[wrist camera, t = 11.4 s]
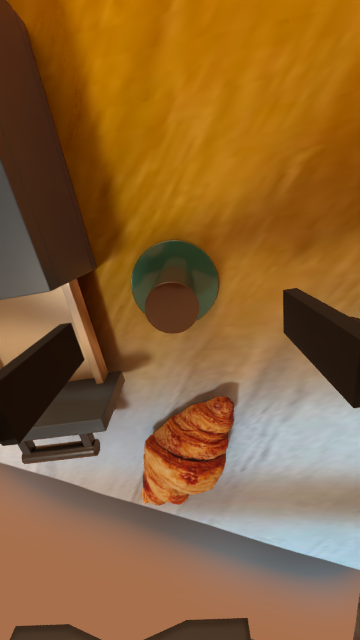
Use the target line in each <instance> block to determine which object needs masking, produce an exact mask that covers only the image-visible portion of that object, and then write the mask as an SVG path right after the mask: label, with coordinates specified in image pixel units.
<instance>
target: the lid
mask: <svg viewBox="0 0 360 640" xmlns="http://www.w3.org/2000/svg"><path fill="white" fill-rule="evenodd" d="M218 285H219V284H218V274H217V271H216V268H215V266H214V264H213V262H212V260H211V259H210V257H209V256H208V255H207V254H206V253H205V252H204V251H203V250H202V249H201V248H199V247H198V246H196V245H194V244H192V243H190V242H186V241H182V240H167V241H163V242H160V243H157V244H155V245H153V246H152V247H150V248H149V249H147V250H146V251H145V252H144V253H143V254H142V255H141V256H140V258H139V259H138V261H137V262H136V264H135V267H134V269H133V273H132V279H131V286H132V293H133V296H134V299H135V301H136V303H137V305H138V306H139V308H140V309H141V310H142V311H143V313H145V314H146V316H147V319H148V320H149V322H150V323H151V324H152V325H153V326H154V327H155V328H156V329H158V330H160V331H162V332H165V333H180V332H183V331H185V330H187V329H188V328H190V327H191V326H192V325H193V324H194V322H195V321H197V320H198V319H200V318H201V317H203V316H204V315H205V314H206V313H207V312H208V311H209V310H210V308H211V307H212V305H213V303H214V301H215V299H216V296H217V292H218Z"/></svg>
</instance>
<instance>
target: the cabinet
mask: <svg viewBox="0 0 360 640" xmlns="http://www.w3.org/2000/svg"><path fill="white" fill-rule="evenodd" d="M95 269H97V267H96V263H95V260H94V257H93V253H92V250H91V247H90V243H89V240H88V237H87V233H86V230H85V226H84V223H83V220H82V216H81V213H80V210H79V206H78V203H77V199H76V196H75V193H74V189H73V186H72V183H71V179H70V176H69V173H68V169H67V166H66V162H65V159H64V156H63V152H62V149H61V146H60V142H59V139H58V135H57V132H56V129H55V125H54V122H53V119H52V115H51V112H50V109H49V105H48V102H47V98H46V95H45V92H44V88H43V85H42V82H41V78H40V75H39V71H38V68H37V65H36V61H35V58H34V55H33V51H32V48H31V45H30V41H29V38H28V34H27V31H26V28H25V24H24V22H23V21H22V20H21V18H20V17H19V16H18V15H17V13H16V12H15V11H14V10H13V8H12V7H11V5H10V4H9V3H8V1H7V0H0V300H3V299H9V298H15V297H21V296H27V295H33V294H39V293H45V292H50V291H52V290H55V289H57V288H58V287H61V286H63V285H65V284H67V283H69V282H71V281H73V280H75V279H77V278H79V277H81V276H83V275H85V274H87V273H89V272H91V271H93V270H95Z"/></svg>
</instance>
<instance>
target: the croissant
mask: <svg viewBox="0 0 360 640" xmlns="http://www.w3.org/2000/svg"><path fill="white" fill-rule="evenodd" d="M233 409H234V403H233V402H232V401H231V400H230V399H229V398H227V397H221V396H220V397H215V398H213V399H212V400H209V401H207V402H206V403H199V404H198V403H197V404H193V405H191V406H189V407H188V408H186V409H185V410H184V411H182V412H181V413H180V414H177V415H175V416H173V417H171V418H170V419H169V420H168V421H167V422H166V423H165V424H164V425H163V426H162V427H161V428H159V429H158V430H157V431H155V432H154V433H153V435H151V436H150V437H149V438H148V439H147V440H146V442H145V448H144V451H145V454H144V469H145V471H144V475H143V489H142V497H143V501H144V503H148V502H151V503H153V504H155V505H162V504H164V503H165V502H166V501H167V502H169V503H173V504H182V503H183V502H184V501H185V500H187V499H188V496H189V494H199V493H202V492H205V491H207V490H211V489H213V486H214V485H215V484H216V482H217V480H218V479H219V477H220V476H221V475H222V472H223V469H224V466H225V462H226V449H227V447H228V431H229V430H230V428H231V427H232V425H233V421H234V418H233V412H234V410H233Z"/></svg>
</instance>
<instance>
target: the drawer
mask: <svg viewBox="0 0 360 640" xmlns="http://www.w3.org/2000/svg"><path fill="white" fill-rule="evenodd" d="M65 323H72V326H73V329H74V332H75V334H76V337H77V340H78V343H79V345H80V348H81V351H82V354H83V356H84V359H85V360H84V361H83V363H82V364H81V365H80V367H79V368H78V369H77V371H76V372H75V373H74V374H73V376H72V377H71V378H70V380H69V381H68V382H67V383H66V385H65V386H64V387H63V389H62V390H61V391H60V392H59V394H58V395H57V396H56V398H55V399H54V400H53V401H52V403H51V404H50V405H49V407H48V408H47V409H46V411H45V412H44V413H43V414H42V416H41V417H40V418H39V420H38V421H37V422H36V423H35V425H34V426H33V427H32V429H31V430H30V431H29V432H28V434H27V435H26V436H25V438H24V439H23V440H22V441H21V443H20V444H18V446H19V448H20V449H21V451H22V453H23V454H22V462H23V463H24V464H29V463H38V462H46V461H55V460H64V459H72V458H81V457H90V456H97V455H98V454H99V451H100V441H99V440H98V439H95V438H94V435H93V433H95V432H103V431H106V429H107V427H108V424H109V421H110V419H111V416H112V413H113V411H114V408H115V405H116V403H117V400H118V397H119V395H120V392H121V389H122V387H123V384H124V381H125V380H124V377H123V373H122V371H116V372H109V373H108V371H107V368H106V365H105V362H104V359H103V356H102V353H101V350H100V347H99V344H98V341H97V338H96V335H95V332H94V329H93V326H92V323H91V320H90V317H89V314H88V311H87V308H86V305H85V302H84V299H83V296H82V293H81V290H80V287H79V284H78V281H77V279H75V280H73V281H71V282H69V283H67V284H65V285H63V286H61V287H58V288H57V289H55V290H52V291H50V292H45V293H39V294H33V295H27V296H21V297H15V298H9V299H3V300H0V369H1V368H3V367H4V366H5V365H7V364H8V363H9V362H11V361H12V360H13V359H15V358H16V357H17V356H19V355H20V354H21V353H23V352H24V351H25V350H26V349H28V348H29V347H30V346H32V345H33V344H34V343H36V342H37V341H38V340H40V339H41V338H42V337H44V336H45V335H46V334H48V333H49V332H50V331H52V330H53V329H54V328H56V327H57V326H58V325H59V324H65ZM78 434H79V436H80V438H81V441H75V442H67V443H59V444H50V445H42V446H35V444H34V442H33V440H37V439H46V438H54V437H62V436H70V435H78ZM0 444H1V443H0Z"/></svg>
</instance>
